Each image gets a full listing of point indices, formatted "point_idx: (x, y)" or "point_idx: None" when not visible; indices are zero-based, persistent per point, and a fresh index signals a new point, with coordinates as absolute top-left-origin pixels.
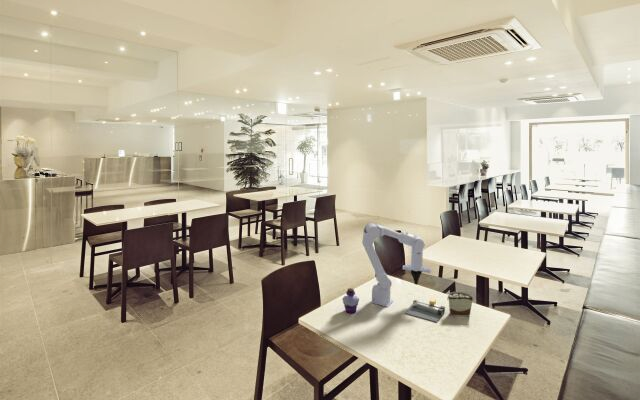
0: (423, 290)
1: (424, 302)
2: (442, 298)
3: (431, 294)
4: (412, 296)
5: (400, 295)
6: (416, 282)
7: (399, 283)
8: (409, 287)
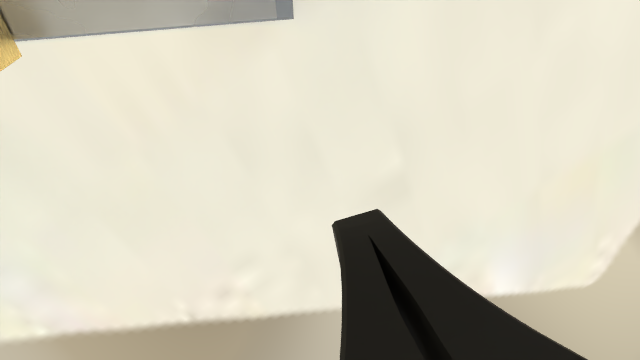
0: (320, 287)
1: (110, 9)
2: (133, 281)
3: (242, 278)
4: (358, 163)
5: (459, 113)
6: (357, 243)
7: (493, 265)
8: None
